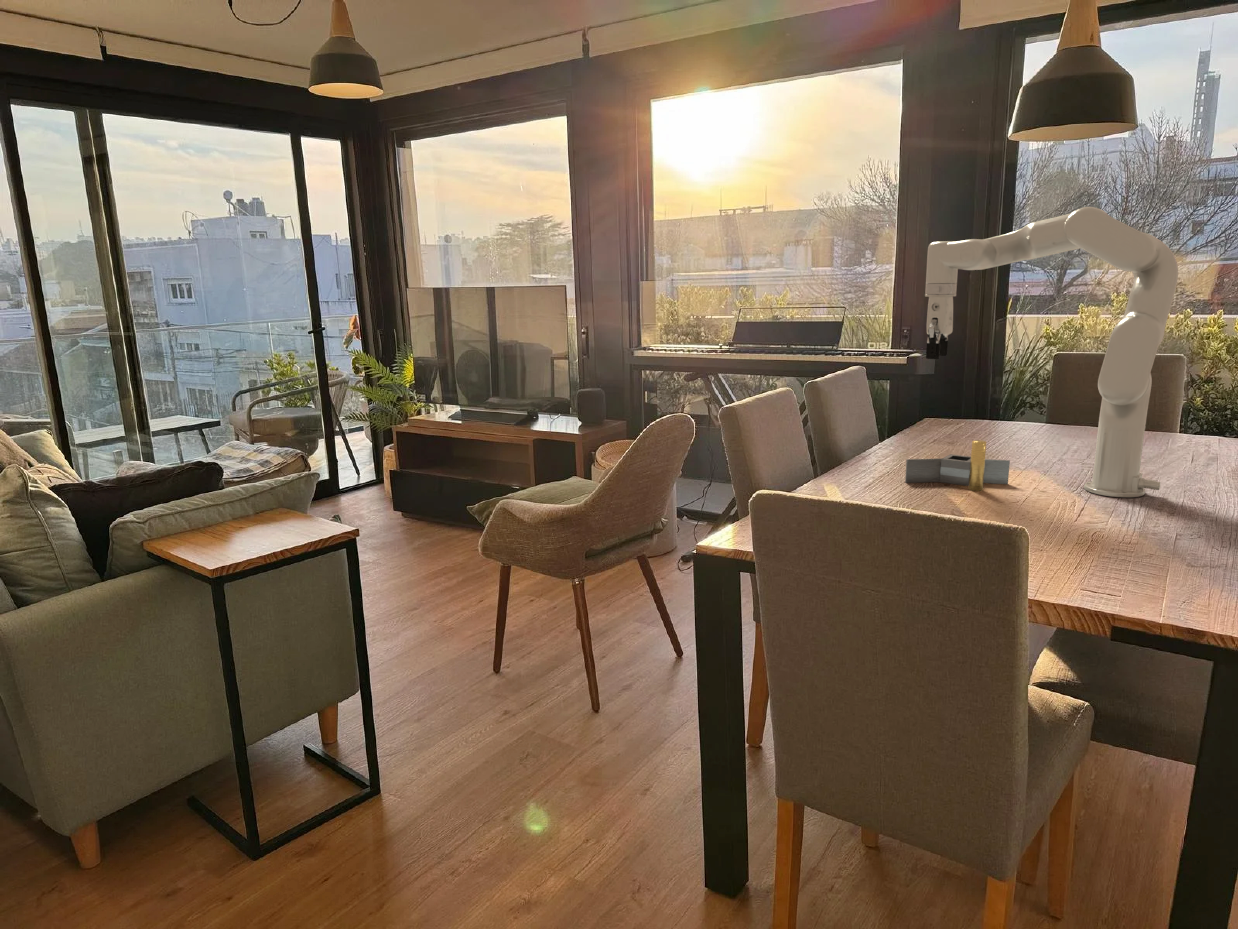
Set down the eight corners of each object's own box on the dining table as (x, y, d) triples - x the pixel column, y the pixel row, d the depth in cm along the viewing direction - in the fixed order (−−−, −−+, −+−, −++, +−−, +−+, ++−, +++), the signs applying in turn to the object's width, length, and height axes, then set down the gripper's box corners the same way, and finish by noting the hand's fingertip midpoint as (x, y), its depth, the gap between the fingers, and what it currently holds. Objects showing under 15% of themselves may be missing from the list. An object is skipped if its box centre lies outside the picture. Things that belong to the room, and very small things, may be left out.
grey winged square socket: (1008, 483, 210) (1010, 460, 209) (993, 494, 200) (995, 470, 199) (922, 472, 223) (923, 450, 222) (904, 482, 213) (905, 459, 212)
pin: (984, 489, 206) (988, 440, 203) (980, 491, 203) (984, 443, 200) (970, 487, 207) (974, 439, 205) (966, 489, 205) (970, 441, 202)
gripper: (949, 291, 208) (944, 360, 211) (962, 289, 222) (958, 354, 226) (917, 291, 212) (914, 359, 215) (933, 289, 226) (929, 353, 230)
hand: (936, 357), depth 221 cm, fingers open, 9 cm apart
